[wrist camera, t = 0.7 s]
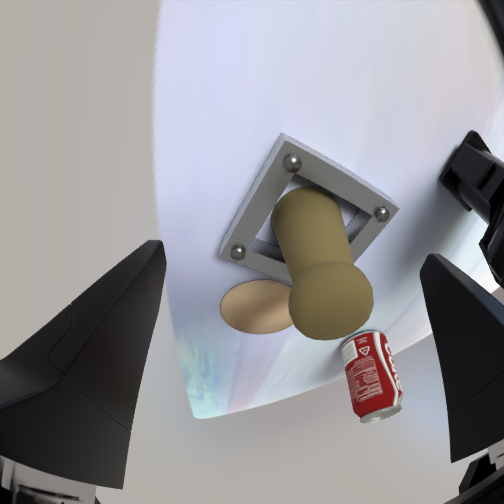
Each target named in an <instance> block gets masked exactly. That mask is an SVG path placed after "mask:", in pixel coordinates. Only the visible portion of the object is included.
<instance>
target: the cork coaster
mask: <svg viewBox="0 0 504 504" xmlns="http://www.w3.org/2000/svg"><path fill="white" fill-rule="evenodd" d="M290 289H291V287H290V286H289V285H287V284H284V283H282V282H278V281H273V280H253V281H248V282H245V283H242V284H239V285H237V286H235V287H234V288H232V289H231V290H229V291H228V292H227V293H226V295H225V296H224V298H223V299H222V303H221V314H222V317H223V319H224V320H225V321H226V323H227V324H229V325H230V326H231V327H233V328H235V329H237V330H239V331H242V332H245V333H250V334H269V333H274V332H278V331H281V330H283V329H286V328H288V327H289V326H291V325H292V324H294V323H293V321H292V319H291V317H290V315H289V309H288V300H289V293H290Z"/></svg>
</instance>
